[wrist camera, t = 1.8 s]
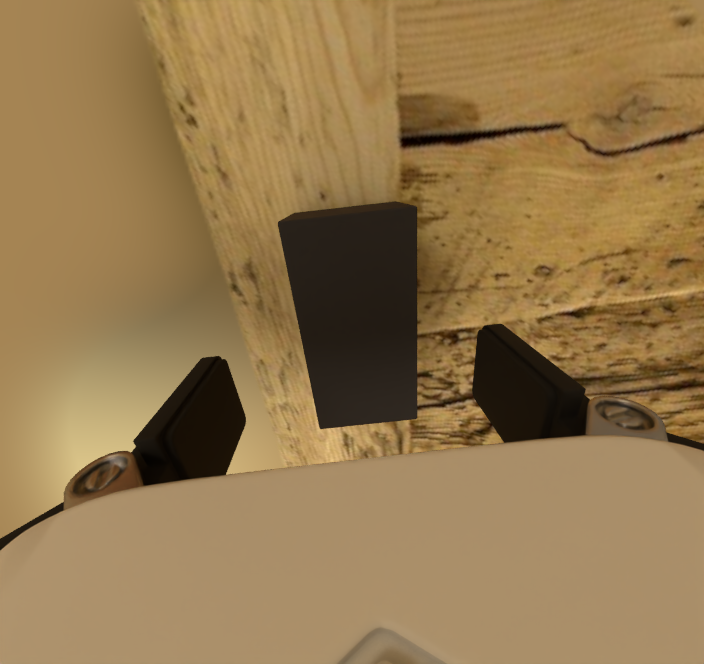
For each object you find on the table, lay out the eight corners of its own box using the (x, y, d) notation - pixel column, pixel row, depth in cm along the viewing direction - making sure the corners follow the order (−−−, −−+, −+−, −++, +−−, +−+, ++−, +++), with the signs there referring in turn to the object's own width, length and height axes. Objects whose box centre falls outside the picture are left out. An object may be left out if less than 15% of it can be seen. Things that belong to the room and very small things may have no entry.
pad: (293, 213, 14) (276, 221, 10) (397, 201, 14) (417, 205, 10) (323, 382, 18) (319, 429, 15) (402, 374, 18) (417, 419, 15)
